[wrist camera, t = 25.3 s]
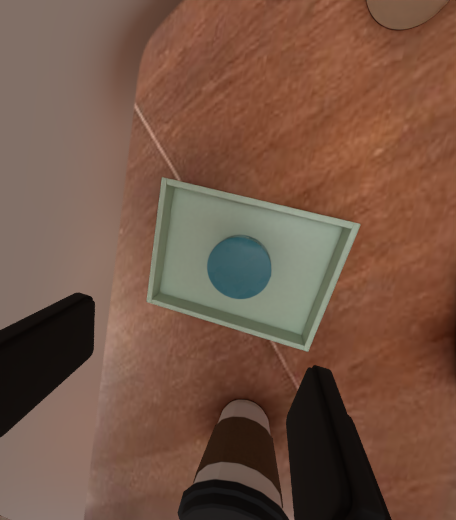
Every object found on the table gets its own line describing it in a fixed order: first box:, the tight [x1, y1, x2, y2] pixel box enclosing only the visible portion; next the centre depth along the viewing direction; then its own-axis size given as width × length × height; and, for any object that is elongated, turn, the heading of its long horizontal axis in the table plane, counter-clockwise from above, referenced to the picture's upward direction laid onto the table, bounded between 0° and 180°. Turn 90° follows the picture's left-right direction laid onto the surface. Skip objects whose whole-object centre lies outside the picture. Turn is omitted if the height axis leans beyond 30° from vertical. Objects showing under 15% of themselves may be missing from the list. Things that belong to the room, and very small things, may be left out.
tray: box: [147, 177, 360, 352], centre depth 23 cm, size 19×14×2 cm
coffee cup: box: [178, 400, 289, 520], centre depth 24 cm, size 11×11×12 cm
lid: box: [207, 235, 271, 299], centre depth 23 cm, size 7×7×2 cm
